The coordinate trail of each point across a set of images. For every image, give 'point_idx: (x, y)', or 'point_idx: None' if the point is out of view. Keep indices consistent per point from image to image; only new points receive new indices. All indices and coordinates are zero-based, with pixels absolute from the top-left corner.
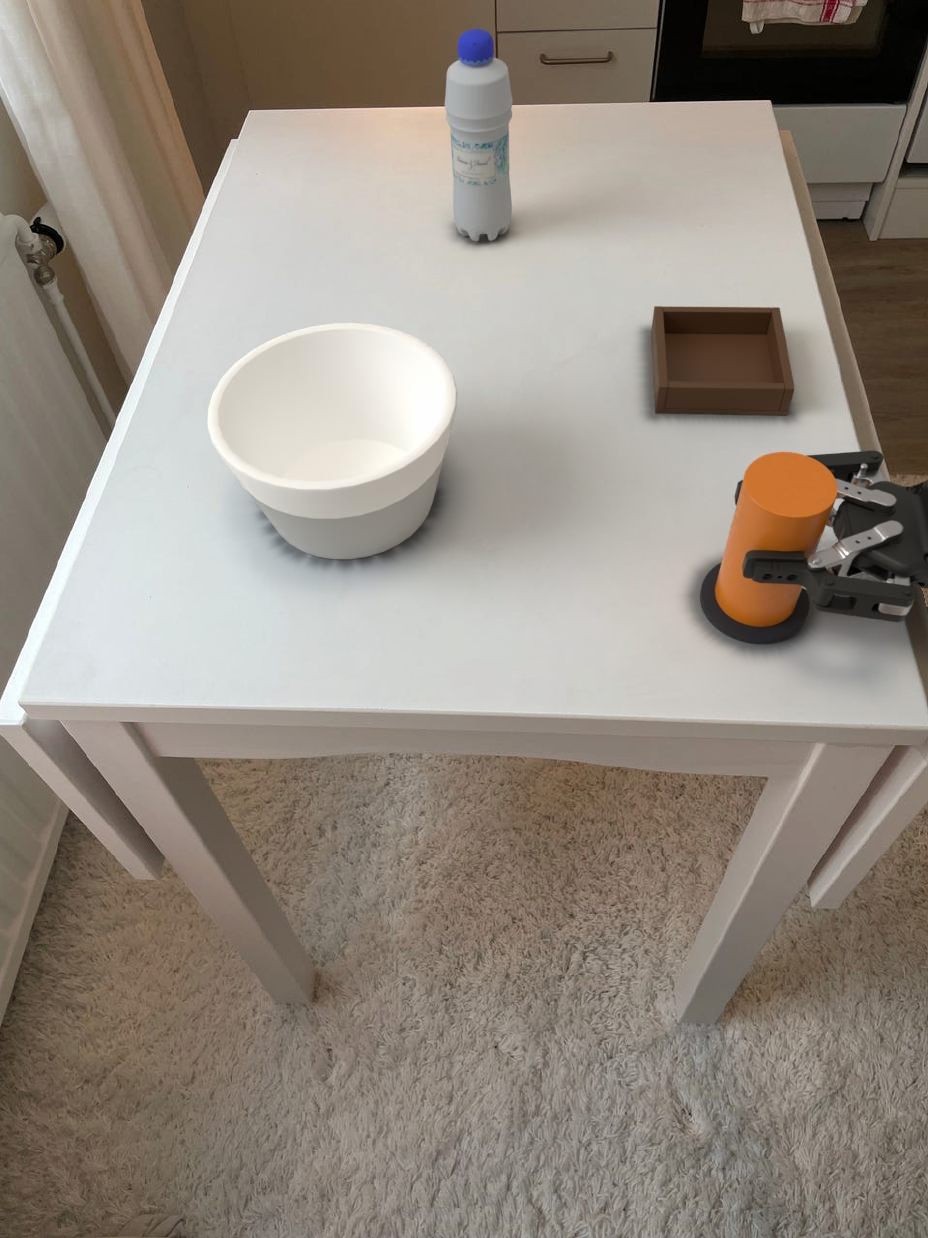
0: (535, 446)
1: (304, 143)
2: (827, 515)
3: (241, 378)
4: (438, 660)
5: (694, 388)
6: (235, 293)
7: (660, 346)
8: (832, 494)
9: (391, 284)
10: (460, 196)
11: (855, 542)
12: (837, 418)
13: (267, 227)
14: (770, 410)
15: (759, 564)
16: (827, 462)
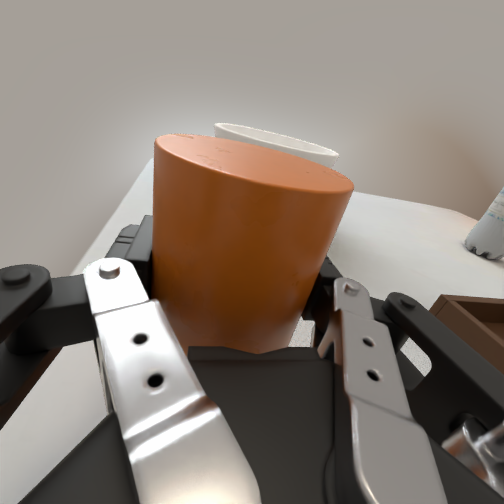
0: (334, 255)
1: (453, 216)
2: (189, 205)
3: (281, 139)
4: (151, 211)
5: (469, 320)
6: (355, 197)
7: (488, 300)
8: (239, 174)
9: (403, 225)
10: (479, 221)
11: (140, 333)
12: None
13: (397, 205)
14: None
15: (136, 227)
16: (433, 334)
